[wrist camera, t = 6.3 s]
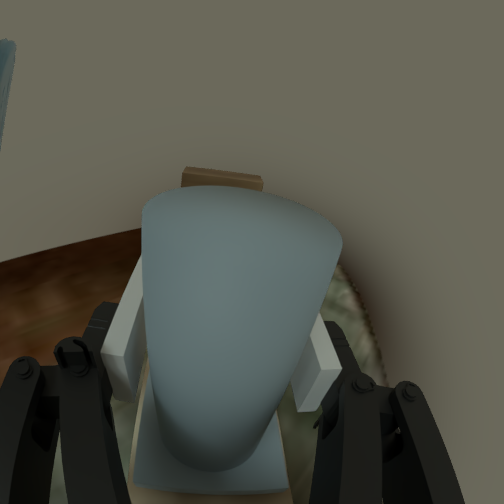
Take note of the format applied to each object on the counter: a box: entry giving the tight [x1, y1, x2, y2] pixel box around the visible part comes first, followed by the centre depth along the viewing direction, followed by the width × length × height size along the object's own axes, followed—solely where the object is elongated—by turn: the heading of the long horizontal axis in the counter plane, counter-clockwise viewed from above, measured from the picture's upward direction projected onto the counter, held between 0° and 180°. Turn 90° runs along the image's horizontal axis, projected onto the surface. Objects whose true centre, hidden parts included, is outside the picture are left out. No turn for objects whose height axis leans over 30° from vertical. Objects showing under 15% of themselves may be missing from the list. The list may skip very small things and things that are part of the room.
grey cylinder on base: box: [133, 186, 343, 495], centre depth 10 cm, size 7×7×12 cm
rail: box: [127, 167, 293, 504], centre depth 20 cm, size 29×8×10 cm, turn 5°
